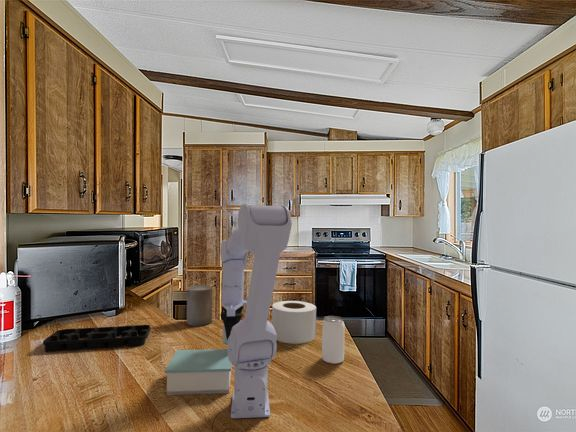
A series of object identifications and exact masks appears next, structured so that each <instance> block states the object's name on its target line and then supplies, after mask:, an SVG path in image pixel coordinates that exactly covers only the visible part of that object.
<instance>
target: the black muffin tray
mask: <svg viewBox="0 0 576 432" xmlns="http://www.w3.org/2000/svg"><path fill="white" fill-rule="evenodd" d="M150 332H151V325H150V324H138V325H137V324H136V325H119V326H117V325H115V326H99V327H82V328H81V327H80V328H65V329H58V330H55V332H53V333H51V335H49V336H48V337H46V338H45V339H44V340H42V341H43V342H42V346H44V352H45V353H55V352H61V351H64V350H65V349H66V351H69V352H70V351H71V352H72V351H73V352H74V351H82V350H84V349H86V348H87V349H88V350H101V349H103V348H106V346H107V347H108V348H109V349H118V348H123V347H125V346H128V347H129V348H131V347H136V348H137V347H143V346H144V345H145V344H146V340H147V339H148V336H149V334H150ZM120 336H121V337H120Z"/></svg>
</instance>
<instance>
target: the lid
mask: <svg viewBox="0 0 576 432" xmlns="http://www.w3.org/2000/svg"><path fill="white" fill-rule="evenodd" d="M231 368H232V369H233V364H232V363H231V362H230V361H229V358H228V351H227V348H221V349H220V348H217V349H214V348H213V349H207V348H206V349H176V351H175V353H174V355H173V356H172V358H171V360H170V361H169V363H168V365H167V367H166V368H165V369H164V373H165V374H167V373H192V372H226V371H231Z"/></svg>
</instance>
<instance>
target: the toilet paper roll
mask: <svg viewBox="0 0 576 432" xmlns="http://www.w3.org/2000/svg"><path fill="white" fill-rule="evenodd" d="M271 324H272V325H273V327H274V329H275V331H276V334H277V339H276V342H279V343H284V344H285V343H286V344H296V345H297V344H306V343H310V342H312V341H313V340H315V338H316V337H317V336H316V333H317V306H316V305H315V304H313V303H311V302H306V301H301V300H282V301H277V302H275V303H272V305H271Z"/></svg>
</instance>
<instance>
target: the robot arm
mask: <svg viewBox="0 0 576 432" xmlns="http://www.w3.org/2000/svg"><path fill="white" fill-rule="evenodd" d="M292 224H293V221H292V215H291V212H290V210H289V208H288V207H287V206H286V205H264V204H263V205H260V204H259V205H258V204H248V203H243V204H242V205H241V206H240V207H239V209H238V213H237V228H236V229H235V230H234V231H233V232H232V233H231V235H230V237H229V238H228V240H227V239H222V240H221V243H220V249H219V250H220V252H219V253H220V254H219V255H220V259H221V262H222V276H221V277H222V280H221V282H222V284H221V286H222V287H221V301H220V306H222V309H223V311H221V312H220V315H219V316H220V319H221V320H222V322H223V326H225V332H226V338H227V340H228V342H227V347H226V349H227V351H228V358H229V361H230V362H231V363H232V366H234V380H233V381H234V386H233V387H234V388H233V389H234V390H233V393H232V397H231V398H232V399H231V409H230V418H231V419H249V418H250V419H251V418H253V419H254V418H268V417H271V410H270V401H269V399H270V398H269V392H268V374H269V373H268V372H269V371H268V366H269V365H271V362H272V361H271V360H272V359H274V358H275V356H276V353H277V340H276V339H277V334H276V331H275V329H274V327H273V325H272V322H270V321H269V320H268V319H269V315H270V313H269V312H270V308H271V303H272V300H273V299H272V298H273V293H274V287H275V283H276V278H277V273H278V267H279V262H280V258H281V257H280V256H281V253H283V252H284V251H285V250H286V249H287V248H288V244H289V242H290V241H289V240H290V236H291V230H292ZM249 252H250V253H251V254H253V256H254V258H253V262H252V263H253V264H252V269H251V276H250V281H249V288H248V294H247V298H246V299H247V300H244V295H245V294H244V293H245V292H244V290H245V289H244V288H245V287H244V286H245V285H244V284H245V269H246V266H247V259H248V253H249ZM244 306H245V313H244V314H243V313H242V311H243V309H244ZM243 315H244V318H243ZM242 318H243V319H242Z"/></svg>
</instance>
